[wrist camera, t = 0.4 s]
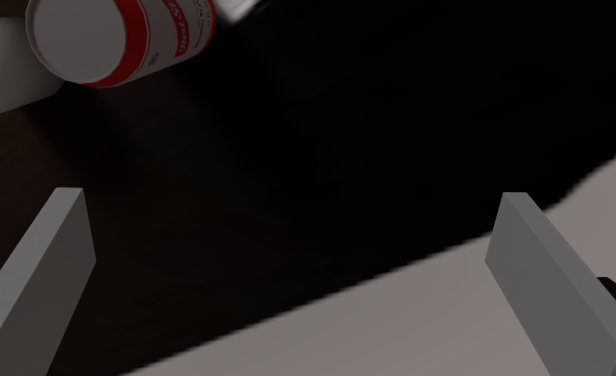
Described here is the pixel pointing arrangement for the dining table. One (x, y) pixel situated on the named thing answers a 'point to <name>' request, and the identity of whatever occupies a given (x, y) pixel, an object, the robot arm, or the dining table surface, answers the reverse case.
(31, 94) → the off-white tin
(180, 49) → the beer can
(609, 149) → the dining table surface
